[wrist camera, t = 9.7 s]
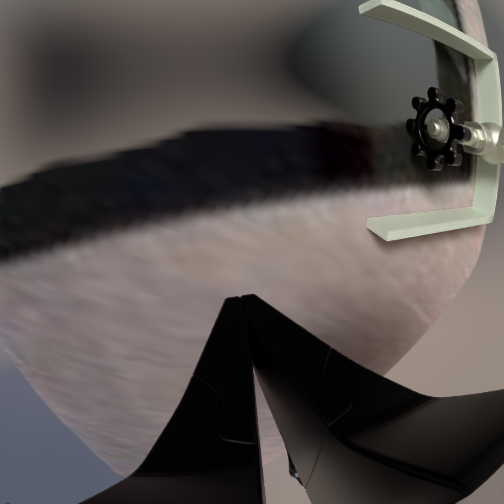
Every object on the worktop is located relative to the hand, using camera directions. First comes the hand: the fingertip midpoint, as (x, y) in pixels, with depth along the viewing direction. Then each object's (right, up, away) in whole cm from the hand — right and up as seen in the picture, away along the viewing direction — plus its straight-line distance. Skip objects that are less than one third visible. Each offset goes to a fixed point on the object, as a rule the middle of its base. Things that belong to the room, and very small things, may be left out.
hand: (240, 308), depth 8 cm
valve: (+19, +13, +12) cm, 26 cm away
